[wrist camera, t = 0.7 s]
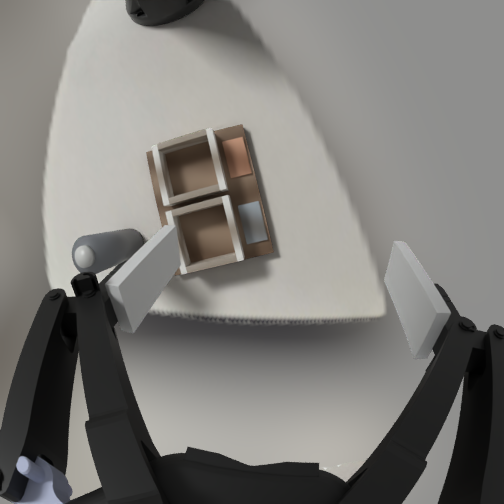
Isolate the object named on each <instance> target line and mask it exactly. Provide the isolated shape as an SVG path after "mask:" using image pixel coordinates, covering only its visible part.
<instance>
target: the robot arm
mask: <svg viewBox="0 0 504 504" xmlns="http://www.w3.org/2000/svg"><path fill="white" fill-rule="evenodd" d="M125 1H126V10H127V13H128V14H129V16H130V17H131V19H132V20H133V21H134V22H136V23H138V24H141V25H160V24H165V23H169V22H172V21H175V20H177V19H180V18H182V17H184V16H186V15H188V14H189V13H191V12H192V11H194V10H195V9H196V8H198V7H199V6H200V5H201V4H202V3H203V1H204V0H125ZM180 265H181V261H180V254H179V246H178V238H177V229H176V225H164V226H163V227H162V228H161V229H160V230H159V231H158V232H157V233H156V234H155V235H154V236H153V237H152V238H151V239H150V240H148V241H147V242H146V243H145V244H144V245H143V246H142V247H141V248H140V249H139V250H138V251H137V252H136V253H135V254H134V255H133V256H132V257H131V258H130V259H129V260H125V261H124V262H122V263H120V264H118V265H117V266H116V267H115V268H114V269H113V271H111V272H110V273H109V275H107V276H106V277H105V278H104V279H103V280H102V281H101V282H100V283H99V284H98V280H97V277H96V275H95V273H93V272H83V273H80V274H78V275H76V276H75V277H74V278H73V279H72V280H71V285H72V288H73V290H74V293H75V296H76V297H67V296H66V293H65V291H64V290H63V289H53V290H52V291H49V292H48V293H47V294H46V295H45V297H44V298H43V300H42V303H41V305H40V307H39V309H38V311H37V314H36V316H35V318H34V321H33V323H32V326H31V328H30V331H29V333H28V336H27V339H26V341H25V344H24V346H23V349H22V352H21V355H20V358H19V361H18V364H17V367H16V370H15V373H14V377H13V380H12V384H11V387H10V391H9V395H8V399H7V403H6V408H5V412H4V417H3V422H2V427H1V430H0V496H1V497H3V498H5V499H7V500H8V501H10V502H12V503H14V504H402V503H403V501H404V500H405V498H406V497H407V495H408V494H409V493H410V491H411V490H412V488H413V487H414V485H415V484H416V482H417V481H418V479H419V478H420V476H421V474H422V473H423V471H424V469H425V467H426V465H427V461H425V459H426V457H427V455H428V453H429V451H430V449H431V448H432V446H433V444H434V442H435V440H436V438H437V436H438V435H439V432H440V430H441V429H442V426H443V424H444V422H445V420H446V418H447V416H448V414H449V411H450V409H451V407H452V404H453V402H454V399H455V397H456V395H457V392H458V390H459V387H460V384H461V382H462V379H463V376H464V382H463V395H462V403H461V411H460V417H459V424H458V430H457V435H456V440H455V445H454V449H453V454H452V458H451V462H450V466H449V469H448V473H447V476H446V480H445V483H444V486H443V489H442V492H441V495H440V498H439V501H438V504H504V328H503V327H501V326H498V325H495V324H494V325H491V326H490V327H489V329H488V331H487V332H483V331H478V330H477V328H476V326H475V324H474V323H473V322H472V321H471V320H469V319H468V318H465V317H461V316H460V315H459V313H458V311H457V310H456V308H455V306H454V305H453V303H452V302H451V300H450V298H449V297H448V295H447V294H446V292H445V290H444V289H443V288H442V287H441V286H439V285H438V284H433V282H432V280H431V279H430V277H429V276H428V274H427V273H426V271H425V270H424V268H423V267H422V266H421V264H420V262H419V261H418V259H417V258H416V257H415V255H414V254H413V252H412V251H411V250H410V248H409V247H408V245H407V244H406V243H405V242H400V241H394V244H393V248H392V252H391V256H390V260H389V264H388V268H387V271H386V275H385V279H384V281H385V284H386V286H387V288H388V291H389V293H390V296H391V298H392V300H393V303H394V305H395V308H396V311H397V313H398V316H399V318H400V321H401V324H402V326H403V329H404V332H405V335H406V337H407V339H408V343H409V346H410V349H411V352H412V355H413V358H414V359H424V358H427V357H428V356H429V354H430V353H431V351H432V349H433V352H434V354H435V356H434V358H433V360H432V361H431V363H430V365H429V366H428V368H427V369H426V373H425V375H424V376H423V378H422V380H421V382H420V384H419V385H418V387H417V389H416V391H415V392H414V394H413V396H412V397H411V399H410V400H409V402H408V404H407V405H406V407H405V408H404V410H403V411H402V413H401V415H400V416H399V418H398V419H397V421H396V422H395V423H394V425H393V427H392V428H391V429H390V431H389V432H388V433H387V435H386V436H385V438H384V439H383V440H382V441H381V443H380V444H379V446H378V447H377V448H376V449H375V450H374V452H373V453H372V454H371V456H370V457H369V458H368V459H367V460H366V462H365V463H364V464H363V465H362V466H361V467H360V468H359V470H358V471H357V472H356V473H355V474H354V475H353V476H352V477H351V478H350V479H349V480H348V481H347V482H345V481H343V480H342V479H340V478H339V477H337V476H335V475H333V474H331V473H329V472H326V471H323V470H319V463H299V462H283V463H276V464H268V465H259V466H250V465H246V464H244V463H241V462H239V461H236V460H233V459H231V458H228V457H226V456H224V455H221V454H219V453H214V452H209V451H204V450H200V449H196V448H191V447H188V448H187V451H186V453H178V454H177V453H176V454H170V455H165V456H162V457H161V456H160V454H159V452H158V451H157V449H156V447H155V446H154V444H153V442H152V440H151V437H150V435H149V432H148V430H147V428H146V425H145V423H144V420H143V417H142V415H141V412H140V410H139V407H138V404H137V401H136V399H135V396H134V393H133V390H132V387H131V384H130V381H129V377H128V374H127V371H126V368H125V364H124V361H123V358H122V354H121V350H120V346H119V343H118V339H117V335H116V331H115V328H114V326H115V324H116V323H117V322H118V324H119V326H120V329H121V330H122V331H126V332H130V333H134V332H135V331H136V329H137V328H138V326H139V325H140V323H141V322H142V320H143V318H144V317H145V316H146V314H147V313H148V311H149V310H150V308H151V307H152V305H153V304H154V302H155V301H156V299H157V298H158V297H159V295H160V294H161V292H162V291H163V289H164V288H165V286H166V285H167V284H168V282H169V281H170V279H171V278H172V277H173V275H174V274H175V272H176V271H177V269H178V268H179V267H180ZM78 353H79V356H80V365H81V373H82V380H83V386H84V393H85V398H86V404H87V409H88V413H89V421H86V423H85V428H86V433H87V437H88V441H89V445H90V449H91V453H92V457H93V460H94V463H95V467H96V470H97V473H98V476H99V479H100V482H101V485H102V487H101V488H98V489H97V490H94V491H92V492H90V493H87V494H85V495H83V496H80V497H78V498H75V499H73V500H70V496H71V495H72V488H71V486H70V485H69V484H68V480H67V478H66V476H65V474H66V467H67V457H68V435H69V434H68V433H69V419H70V408H71V398H72V390H73V383H74V375H75V370H76V364H77V358H78Z"/></svg>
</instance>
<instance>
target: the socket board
mask: <svg viewBox="0 0 504 504" xmlns="http://www.w3.org/2000/svg"><path fill="white" fill-rule="evenodd" d="M151 147H152V151H149V152H146V154H147V159H148V165H149V170H150V175H151V180H152V184H153V189H154V194H155V198H156V203H157V207H158V211H159V216H160V220H161V224H162V227H163V226H164V225H176V229H177V238H178V246H179V254H180V261H181V265H180V267H179V268H178V269H177V271H176V272H175V275H180V274H186V273H191V272H195V271H199V270H203V269H208V268H212V267H216V266H221V265H225V264H229V263H233V262H237V261H242V260H244V259H248V258H252V257H256V256H260V255H265V254H269V253H273V252H274V251H273V247H272V243H271V238H270V234H269V230H268V226H267V221H266V217H265V213H264V209H263V205H262V201H261V196H260V192H259V188H258V184H257V180H256V176H255V172H254V168H253V164H252V160H251V156H250V152H249V148H248V144H247V141H246V137H245V133H244V129H243V125H242V124H241V125H237V126H233V127H229V128H225V129H221V130H217V131H213V129H212V127H211V128H208V129H204V130H201V131H197V132H194V133H190V134H187V135H184V136H180V137H177V138H174V139H171V140H168V141H165V142H162V143H159V144H156V145H153V146H151Z"/></svg>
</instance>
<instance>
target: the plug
mask: <svg viewBox="0 0 504 504" xmlns="http://www.w3.org/2000/svg"><path fill="white" fill-rule="evenodd" d="M142 246H143V238H142V236H141V234H140V233H139V232H138V231H136V230H134V229H124V230H117V231H111V232H105V233H99V234H93V235H87V236H82V237H80V238H78V239H77V240H76V242H75V243H74V246H73V249H72V258H73V262H74V265H75V267H76V268H77V269H78V271H79V272H80V273H83V272H93V273H95V274H97V273H99V272H101V271H104V270H106V269H108V268H111V267H113V266H116V265H118V264H120V263H122V262H124V261H125V260H129V259H130V258H131V257H132V256H133V255H134V254H135V253H136V252H137V251H138V250H139V249H140V248H141V247H142Z"/></svg>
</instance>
